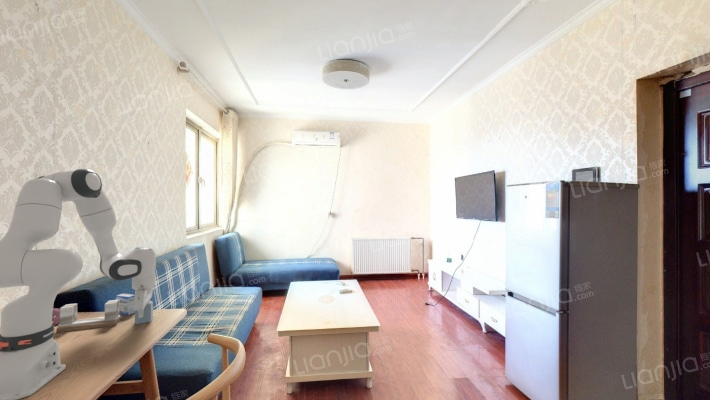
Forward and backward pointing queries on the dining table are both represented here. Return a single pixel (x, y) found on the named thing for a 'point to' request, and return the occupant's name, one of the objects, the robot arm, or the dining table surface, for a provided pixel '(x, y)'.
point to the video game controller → (56, 313)
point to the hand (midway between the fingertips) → (143, 313)
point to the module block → (145, 314)
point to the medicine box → (126, 303)
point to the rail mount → (72, 323)
